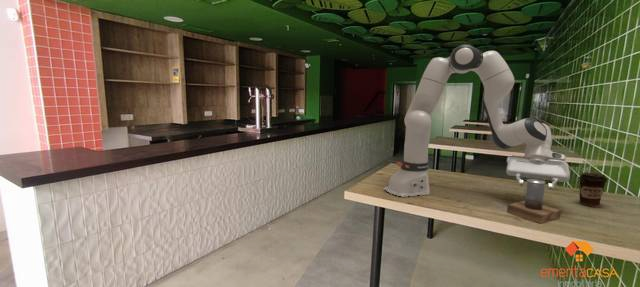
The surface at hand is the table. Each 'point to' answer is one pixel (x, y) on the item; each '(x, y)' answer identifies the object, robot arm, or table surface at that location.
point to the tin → (534, 194)
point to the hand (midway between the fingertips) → (535, 186)
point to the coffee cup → (591, 188)
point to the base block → (534, 212)
